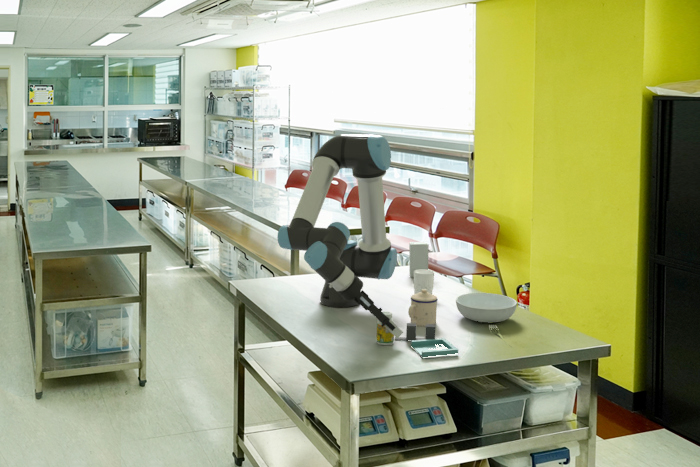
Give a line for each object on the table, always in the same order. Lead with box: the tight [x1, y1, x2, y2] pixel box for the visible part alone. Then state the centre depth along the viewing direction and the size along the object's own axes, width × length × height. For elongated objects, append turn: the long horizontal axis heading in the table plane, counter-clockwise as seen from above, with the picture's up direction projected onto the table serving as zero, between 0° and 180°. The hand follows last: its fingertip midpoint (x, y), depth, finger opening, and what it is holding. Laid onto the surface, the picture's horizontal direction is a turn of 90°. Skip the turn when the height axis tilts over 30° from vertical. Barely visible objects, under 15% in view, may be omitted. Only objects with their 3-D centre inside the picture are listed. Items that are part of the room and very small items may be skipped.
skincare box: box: [408, 241, 429, 278], centre depth 311 cm, size 8×6×15 cm
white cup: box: [413, 269, 435, 295], centre depth 277 cm, size 8×8×10 cm
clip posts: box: [394, 322, 436, 342], centre depth 224 cm, size 16×3×5 cm, turn 84°
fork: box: [488, 324, 498, 329], centre depth 227 cm, size 3×20×2 cm, turn 9°
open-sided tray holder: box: [410, 337, 459, 358], centre depth 214 cm, size 11×11×2 cm
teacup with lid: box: [408, 289, 438, 327], centre depth 241 cm, size 12×9×12 cm
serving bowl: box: [455, 292, 518, 324], centre depth 248 cm, size 21×21×7 cm
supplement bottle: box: [376, 311, 395, 346], centre depth 221 cm, size 5×5×10 cm
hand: (396, 331), depth 222 cm, fingers open, 6 cm apart
